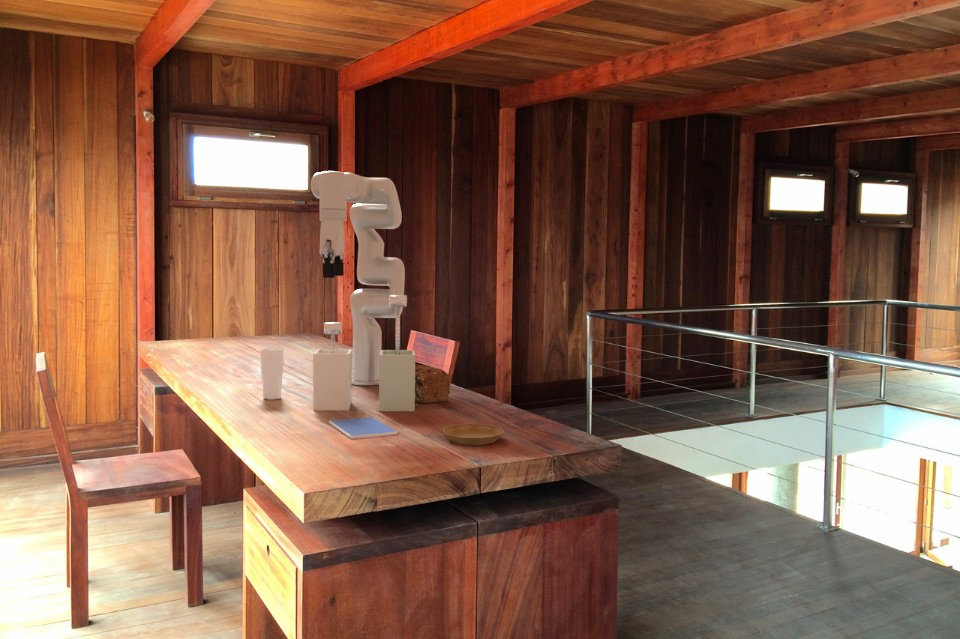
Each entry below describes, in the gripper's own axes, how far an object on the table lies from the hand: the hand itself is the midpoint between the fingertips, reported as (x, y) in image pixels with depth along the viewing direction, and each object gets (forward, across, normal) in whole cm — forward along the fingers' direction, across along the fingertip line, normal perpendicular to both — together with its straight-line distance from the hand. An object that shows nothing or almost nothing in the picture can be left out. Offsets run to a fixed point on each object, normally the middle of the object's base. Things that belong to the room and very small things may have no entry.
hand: (333, 276), depth 229 cm
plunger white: (+34, +1, 0) cm, 34 cm away
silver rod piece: (+26, -1, +18) cm, 32 cm away
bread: (+38, -17, +23) cm, 48 cm away
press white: (+37, +1, 0) cm, 37 cm away
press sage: (+37, -1, +18) cm, 42 cm away
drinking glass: (+38, -7, -21) cm, 44 cm away
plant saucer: (+37, +33, +44) cm, 66 cm away
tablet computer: (+38, +26, +14) cm, 48 cm away
